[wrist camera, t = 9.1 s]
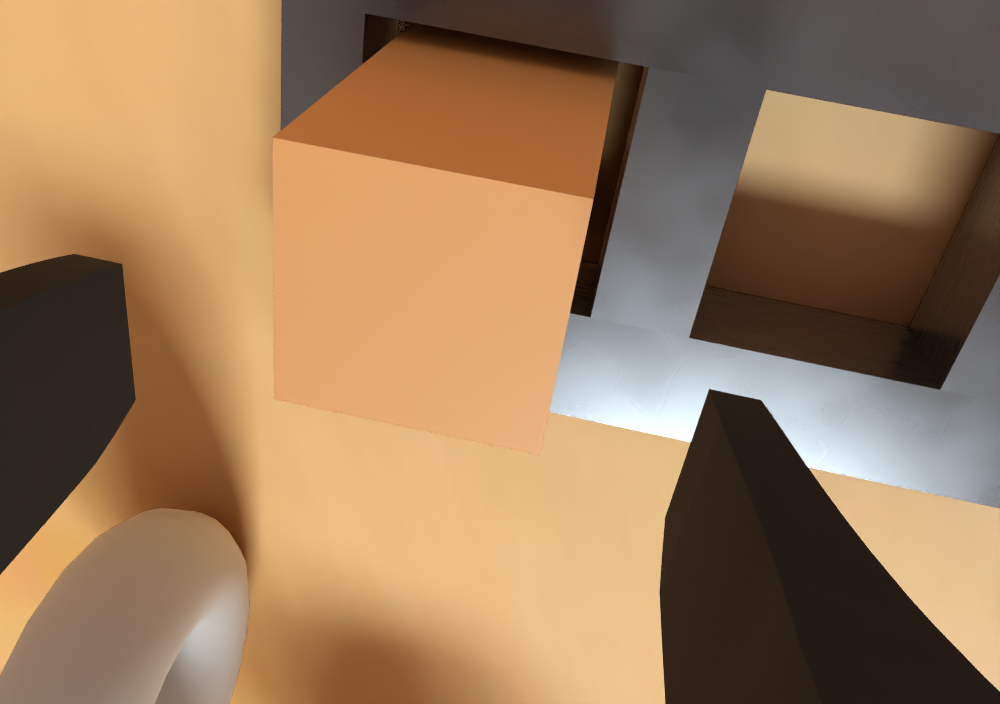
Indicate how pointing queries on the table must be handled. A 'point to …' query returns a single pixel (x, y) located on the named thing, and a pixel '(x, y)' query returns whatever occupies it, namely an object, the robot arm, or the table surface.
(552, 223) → the peg
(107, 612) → the donut
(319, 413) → the table surface
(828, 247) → the table surface
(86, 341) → the robot arm
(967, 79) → the grey slotted block
